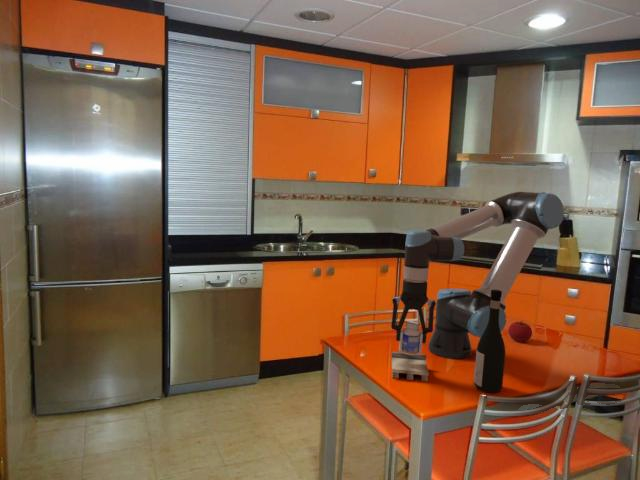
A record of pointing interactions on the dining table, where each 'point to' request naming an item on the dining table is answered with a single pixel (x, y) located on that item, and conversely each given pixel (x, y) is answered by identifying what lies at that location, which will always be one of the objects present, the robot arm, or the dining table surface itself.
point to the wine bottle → (491, 351)
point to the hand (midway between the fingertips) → (409, 351)
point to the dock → (409, 365)
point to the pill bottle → (411, 338)
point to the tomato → (520, 331)
